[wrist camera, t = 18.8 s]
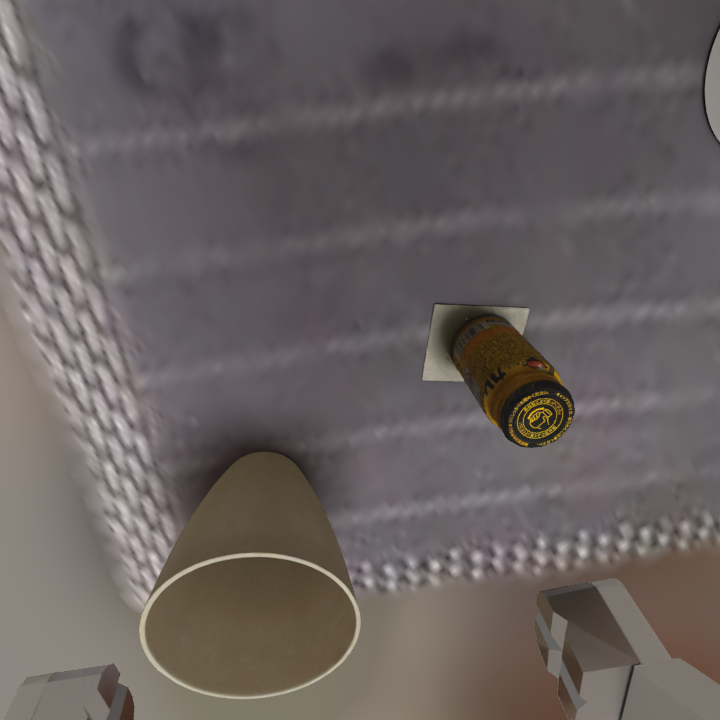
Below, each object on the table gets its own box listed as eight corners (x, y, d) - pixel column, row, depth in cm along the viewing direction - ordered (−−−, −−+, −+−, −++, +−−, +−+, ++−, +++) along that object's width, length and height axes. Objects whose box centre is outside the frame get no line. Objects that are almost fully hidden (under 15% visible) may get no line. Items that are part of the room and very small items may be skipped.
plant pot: (161, 434, 47) (105, 580, 33) (326, 403, 47) (342, 533, 33) (207, 554, 53) (177, 719, 39) (351, 526, 54) (373, 678, 40)
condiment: (510, 381, 49) (572, 460, 38) (421, 379, 48) (460, 460, 37) (528, 307, 46) (601, 370, 35) (433, 302, 44) (479, 366, 34)
